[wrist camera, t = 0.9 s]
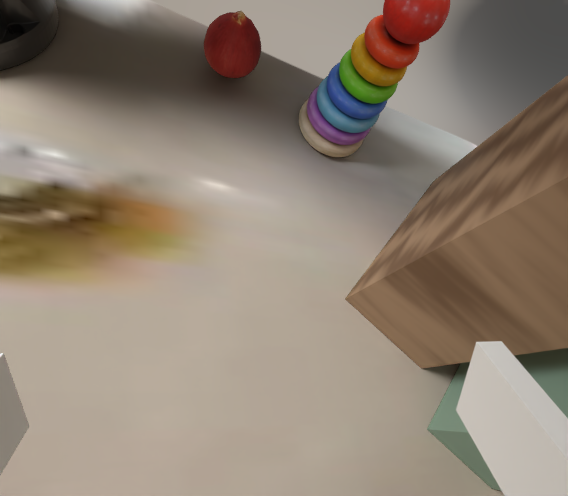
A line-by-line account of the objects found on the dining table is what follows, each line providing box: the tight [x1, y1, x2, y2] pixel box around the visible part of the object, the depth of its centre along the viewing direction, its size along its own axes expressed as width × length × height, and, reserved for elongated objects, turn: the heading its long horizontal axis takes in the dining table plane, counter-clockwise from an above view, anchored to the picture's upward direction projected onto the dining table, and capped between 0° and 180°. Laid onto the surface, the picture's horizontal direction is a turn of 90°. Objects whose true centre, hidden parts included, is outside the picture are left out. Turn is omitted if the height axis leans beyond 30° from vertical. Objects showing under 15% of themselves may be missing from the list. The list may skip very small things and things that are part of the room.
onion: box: [204, 11, 261, 78], centre depth 41 cm, size 6×6×8 cm
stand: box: [345, 76, 568, 369], centre depth 30 cm, size 20×10×30 cm, turn 140°
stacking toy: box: [299, 0, 450, 157], centre depth 38 cm, size 8×8×19 cm
